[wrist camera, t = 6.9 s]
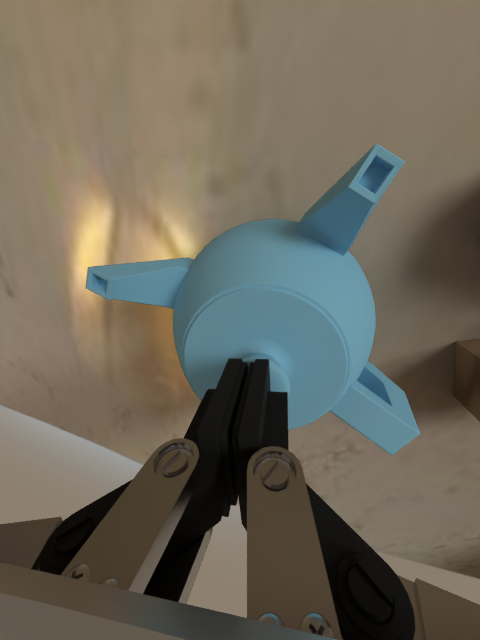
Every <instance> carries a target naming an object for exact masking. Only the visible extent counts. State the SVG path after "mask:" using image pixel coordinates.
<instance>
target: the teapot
mask: <svg viewBox="0 0 480 640" xmlns="http://www.w3.org/2000/svg"><path fill="white" fill-rule="evenodd" d="M404 163H405V161H403V160H402V159H400V158H398V157H397V156H395V155H394V154H392V153H391V152H389V151H387V150H386V149H384V148H383V147H381V146H380V145H378V144H375V145H374V146H373V147H372V148H371V149H370V150H369V151H368V152H367V153H366V154H365V155H364V156H363V157H362V158H361V159H360V160H359V161H358V162H357V163H356V164H355V165H354V166H353V167H352V168H351V169H350V170H349V171H348V172H347V173H346V174H345V175H344V176H343V177H342V178H341V179H340V180H339V181H338V182H337V183H335V184H334V185H333V186H332V187H331V188H330V189H329V190H328V191H327V192H326V193H325V194H324V195H323V196H322V197H321V198H320V199H319V200H318V201H317V202H316V203H315V204H314V205H313V206H312V207H311V208H310V209H309V210H308V211H307V212H306V213H305V214H304V216H303V218H302V219H301V221H300V222H295V221H290V220H282V219H265V220H259V221H253V222H249V223H245V224H242V225H239V226H236V227H234V228H232V229H230V230H228V231H226V232H224V233H222V234H221V235H219V236H218V237H216V238H215V239H214V240H212V241H211V242H210V243H209V244H208V245H207V246H206V247H205V248H204V249H203V250H202V251H201V252H200V253H199V254H198V256H197V257H196V258H195V259H194V260H193V259H191V258H179V259H169V260H158V261H147V262H137V263H126V264H116V265H105V266H95V267H88V272H87V280H86V288H87V289H88V290H90V291H92V292H94V293H96V294H98V295H100V296H102V297H104V298H106V299H108V300H111V299H116V300H122V301H129V302H136V303H143V304H150V305H157V306H164V307H169V308H171V309H174V313H173V332H174V340H175V346H176V350H177V354H178V357H179V361H180V364H181V367H182V370H183V372H184V375H185V377H186V378H187V380H188V382H189V384H190V386H191V387H192V389H193V391H194V392H195V393H196V395H197V396H198V397H199V399H200V400H201V401H202V399H203V397H204V395H205V393H206V391H207V390H208V389H216V387H217V384H218V382H219V380H220V377H221V375H222V373H223V370H224V368H225V366H226V363H227V361H228V359H229V358H239V359H242V360H243V362H247V365H248V369H249V366H250V362H255V359H269V368H270V390H271V391H274V392H288V430H291V429H295V428H298V427H302V426H304V425H307V424H309V423H311V422H313V421H315V420H317V419H318V418H320V417H321V416H323V415H324V414H325V413H327V412H328V411H330V412H332V413H333V414H335V415H336V416H337V417H339V418H340V419H342V420H343V421H344V422H346V423H347V424H348V425H350V426H351V427H353V428H354V429H355V430H357V431H358V432H360V433H361V434H362V435H364V436H365V437H367V438H368V439H369V440H371V441H372V442H373V443H375V444H376V445H378V446H379V447H380V448H382V449H383V450H385V451H386V452H387V453H389V454H390V455H393V454H394V453H396V452H397V451H398V450H400V449H401V448H402V447H404V446H405V445H406V444H407V443H409V442H410V441H411V440H413V439H414V438H415V437H417V436H418V435H419V434H420V432H419V429H418V427H417V424H416V421H415V418H414V416H413V413H412V410H411V408H410V405H409V402H408V399H407V397H406V394H405V392H404V391H403V390H402V389H400V388H399V387H398V386H397V385H396V384H395V383H394V382H392V381H391V380H390V379H389V378H388V377H387V376H385V375H384V374H383V373H382V372H381V371H380V370H378V369H377V368H376V367H375V366H374V365H373V364H372V363H370V362H369V361H368V358H369V355H370V352H371V350H372V345H373V340H374V335H375V323H376V316H375V307H374V300H373V296H372V292H371V289H370V286H369V284H368V281H367V279H366V277H365V274H364V272H363V270H362V269H361V267H360V266H359V264H358V262H357V261H356V259H355V258H354V257H353V256H352V255H351V254H350V252H349V251H348V250H349V248H350V246H351V245H352V243H353V241H354V240H355V238H356V236H357V235H358V233H359V232H360V230H361V228H362V227H363V225H364V224H365V222H366V220H367V219H368V217H369V215H370V214H371V212H372V211H373V209H374V207H375V206H376V204H377V203H378V201H379V199H380V198H381V196H382V194H383V193H384V191H385V190H386V188H387V187H388V185H389V184H390V182H391V181H392V180H393V178H394V177H395V175H396V174H397V173H398V171H399V170H400V168H401V167H402V166H403V164H404Z"/></svg>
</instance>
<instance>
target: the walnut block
mask: <svg viewBox="0 0 480 640" xmlns="http://www.w3.org/2000/svg"><path fill="white" fill-rule="evenodd" d="M453 395H454V396H455V397H456V398H457V399H458V400H459V401H460V402H461V403H462V404H463V405H464V406H465V407H466V408H467V409H468V410H469V411H470V412H471V413H472V414H473V415H474V416H475V417H476V418H477V419H478V421H479V422H480V338H479V339H471V340H463V341H456V342H455V363H454V391H453Z"/></svg>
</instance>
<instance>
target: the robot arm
mask: <svg viewBox="0 0 480 640" xmlns="http://www.w3.org/2000/svg"><path fill="white" fill-rule="evenodd" d="M238 495H239V504H240V511H241V520H242V524H243V526H244V528H245V529H246V531H247V618H244V617H239V616H235V615H231V614H227V613H222V612H217V611H213V610H209V609H205V608H200V607H196V606H192V605H187V604H186V603H187V601H188V598H189V595H190V593H191V590H192V587H193V584H194V582H195V579H196V576H197V574H198V571H199V568H200V565H201V562H202V560H203V557H204V555H205V552H206V549H207V547H208V544H209V541H210V538H211V534H212V530H213V526H215V525H216V524H217V523H218V522H219V521H221V517H222V516H226V517H228V516H229V511H230V506H231V505H235V506H236V503H237V499H238ZM0 640H480V605H478V604H476V603H474V602H471V601H469V600H467V599H464V598H462V597H460V596H457V595H455V594H452V593H450V592H448V591H445V590H443V589H441V588H438V587H436V586H434V585H431V584H429V583H426V582H424V581H422V580H419V579H417V578H416V580H415V583H414V582H412V581H409V580H407V579H405V578H402V577H400V576H398V575H396V573H394V571H393V570H392V569H391V568H390V566H389V565H388V564H387V563H386V562H385V561H384V560H383V559H382V558H381V557H380V556H379V555H378V554H377V553H376V552H375V551H374V550H373V549H372V548H371V547H370V546H369V545H368V544H367V543H366V542H365V541H364V540H363V539H362V538H361V537H360V536H359V535H358V534H357V533H356V532H355V531H354V530H353V529H352V528H351V527H350V526H349V525H348V524H347V523H346V522H345V521H344V520H343V519H342V518H341V517H340V516H339V515H338V514H336V513H335V512H334V511H333V510H332V509H331V508H330V507H329V506H328V505H327V504H326V503H325V502H324V501H323V500H322V499H321V498H320V497H319V496H318V495H317V494H316V493H315V492H314V491H313V490H312V489H311V488H310V487H309V486H308V485H307V484H306V482H305V478H304V474H303V469H302V467H301V464H300V462H299V460H298V459H297V458H296V456H295V455H294V454H293V453H291V452H290V451H288V392H274V391H271V390H270V368H269V359H255V362H250V366H249V369H248V365H247V362H243V360H242V359H239V358H229V359H228V361H227V363H226V366H225V368H224V370H223V373H222V375H221V377H220V380H219V382H218V384H217V387H216V389H208V390H207V391H206V393H205V395H204V397H203V399H202V401H201V403H200V405H199V407H198V409H197V412H196V414H195V416H194V418H193V420H192V422H191V424H190V426H189V428H188V430H187V432H186V434H185V436H184V439H183V438H179V439H173V440H170V441H168V442H166V443H164V444H163V445H161V446H160V447H158V448H157V449H156V450H155V451H154V452H153V454H152V455H151V456H150V458H149V459H148V460H147V462H146V463H145V464H144V466H143V467H142V468H141V469H140V471H139V472H138V474H137V475H136V476H135V478H134V479H133V480H131V481H129V482H127V483H126V484H124V485H122V486H120V487H119V488H117V489H115V490H113V491H112V492H110V493H108V494H107V495H105V496H103V497H101V498H100V499H98V500H96V501H94V502H93V503H91V504H89V505H87V506H86V507H84V508H82V509H80V510H79V511H77V512H75V513H74V514H72V515H71V516H70V517H68V518H67V519H65V520H64V521H63V520H62V518H61V517H55V518H48V519H39V520H31V521H23V522H15V523H8V524H0Z"/></svg>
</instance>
